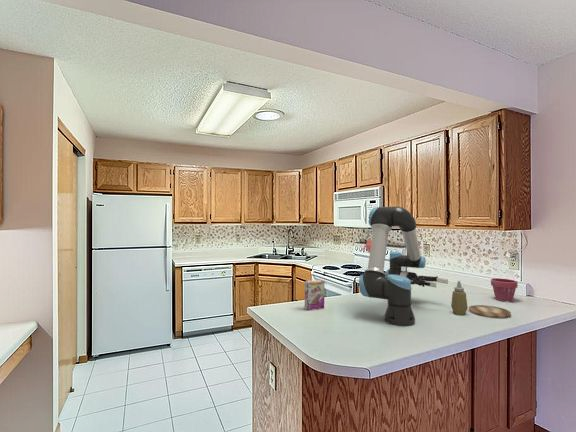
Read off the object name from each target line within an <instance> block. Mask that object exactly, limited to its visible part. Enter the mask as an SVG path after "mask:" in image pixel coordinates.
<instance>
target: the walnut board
mask: <svg viewBox="0 0 576 432" xmlns="http://www.w3.org/2000/svg"><path fill="white" fill-rule="evenodd" d="M468 312H469V313H471V314H473V315H475V316H479V317H483V318H491V319H508V317H509V318H511V317H512V312H511V311H510V310H508V309H505V308H503V307H499V306H498V307H497V306H494V305H486V304H474V305H470V306H468ZM510 316H511V317H510Z"/></svg>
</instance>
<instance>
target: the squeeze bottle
mask: <svg viewBox="0 0 576 432" xmlns="http://www.w3.org/2000/svg"><path fill="white" fill-rule="evenodd" d="M467 300H468V299H467V293H466V292H465V288H464V287H463V286H462V282H461V281H460V280H458V281H457V284H456V286H454V291H452V297H451V302H450V303H451V305H450V306H451V309H452V312H453V314H456V315H460V316H461V315H466V313H467V310H468V309H469V306H468V301H467Z"/></svg>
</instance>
